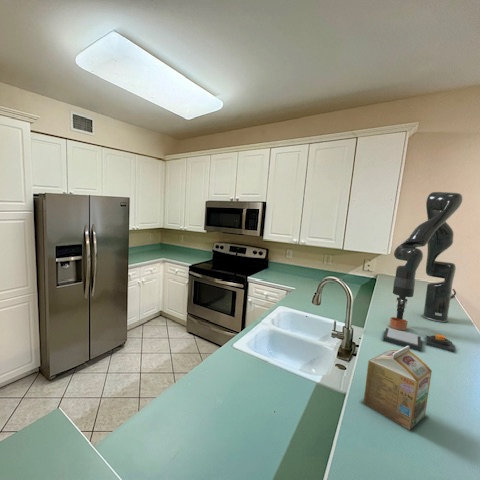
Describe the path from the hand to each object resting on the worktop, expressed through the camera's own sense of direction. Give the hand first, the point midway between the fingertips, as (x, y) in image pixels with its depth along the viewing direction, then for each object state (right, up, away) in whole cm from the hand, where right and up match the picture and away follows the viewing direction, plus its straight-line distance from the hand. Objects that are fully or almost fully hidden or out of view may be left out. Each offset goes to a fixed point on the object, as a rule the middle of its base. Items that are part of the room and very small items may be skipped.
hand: (399, 316), depth 128 cm
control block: (+3, -8, -15) cm, 18 cm away
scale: (-11, -8, -12) cm, 18 cm away
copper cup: (0, -6, +1) cm, 6 cm away
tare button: (+3, -6, -15) cm, 17 cm away
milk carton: (-54, -11, -54) cm, 77 cm away
